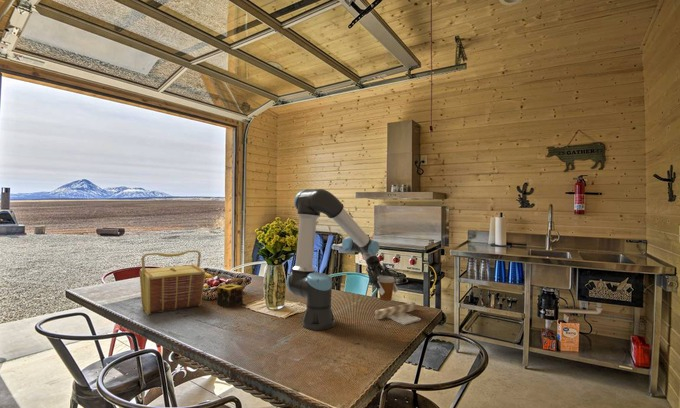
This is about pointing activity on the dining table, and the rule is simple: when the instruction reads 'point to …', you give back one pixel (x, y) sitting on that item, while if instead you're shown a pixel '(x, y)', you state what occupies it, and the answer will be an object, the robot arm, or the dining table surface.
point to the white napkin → (404, 318)
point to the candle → (229, 295)
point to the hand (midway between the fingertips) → (389, 292)
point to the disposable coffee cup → (386, 287)
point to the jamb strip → (394, 310)
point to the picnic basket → (171, 285)
